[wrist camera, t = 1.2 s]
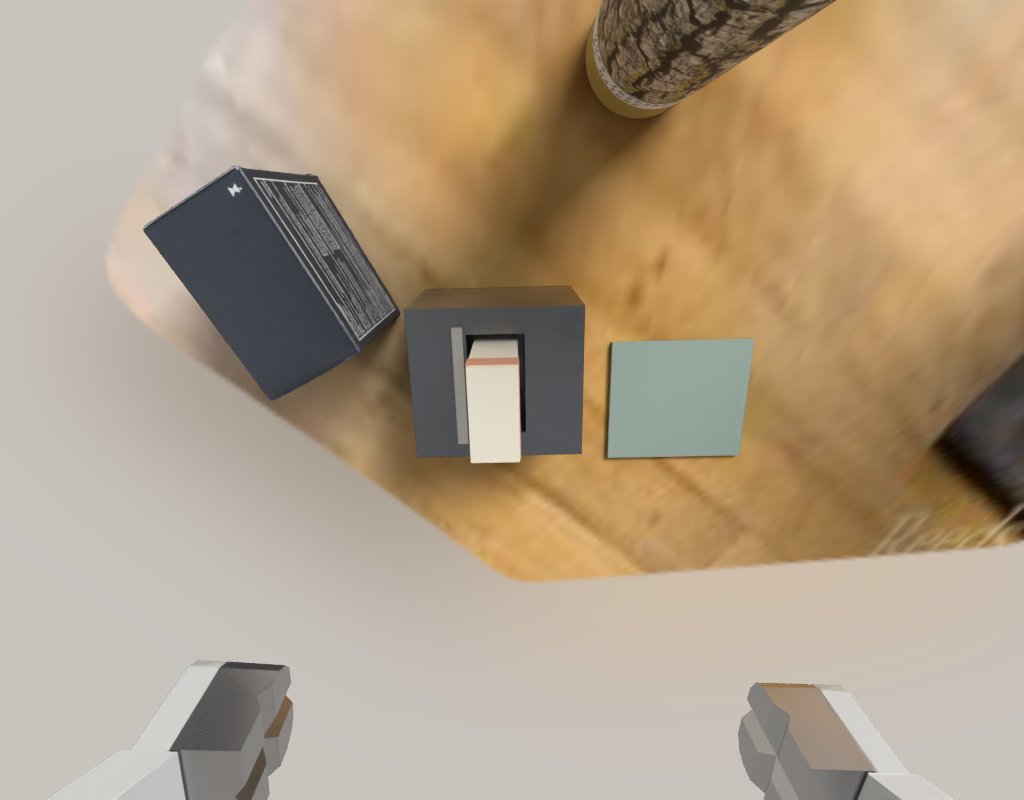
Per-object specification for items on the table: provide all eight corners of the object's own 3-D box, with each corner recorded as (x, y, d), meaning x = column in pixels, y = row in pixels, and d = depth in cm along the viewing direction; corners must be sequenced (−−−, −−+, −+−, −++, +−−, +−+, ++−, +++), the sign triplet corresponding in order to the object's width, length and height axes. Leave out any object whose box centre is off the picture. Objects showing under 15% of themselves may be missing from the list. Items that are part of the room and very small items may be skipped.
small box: (236, 222, 36) (130, 226, 26) (316, 171, 35) (237, 155, 25) (328, 356, 39) (265, 407, 29) (404, 314, 38) (365, 351, 28)
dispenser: (570, 286, 37) (586, 306, 29) (568, 407, 40) (582, 456, 32) (426, 289, 37) (402, 310, 29) (435, 410, 40) (416, 460, 32)
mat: (751, 338, 38) (754, 339, 38) (737, 452, 41) (739, 455, 41) (611, 341, 38) (612, 342, 38) (607, 455, 41) (607, 457, 41)
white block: (517, 323, 35) (519, 366, 25) (519, 397, 36) (521, 462, 27) (477, 324, 35) (464, 367, 25) (481, 398, 36) (470, 463, 27)
